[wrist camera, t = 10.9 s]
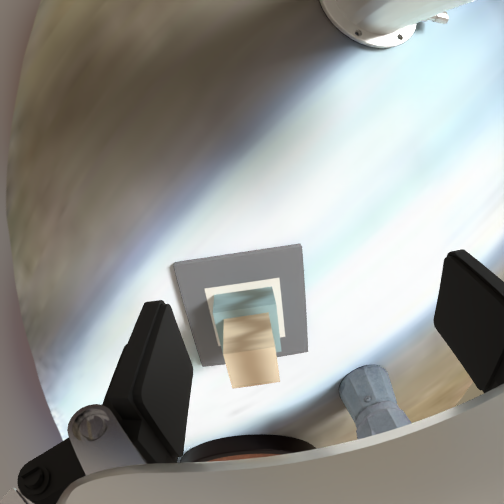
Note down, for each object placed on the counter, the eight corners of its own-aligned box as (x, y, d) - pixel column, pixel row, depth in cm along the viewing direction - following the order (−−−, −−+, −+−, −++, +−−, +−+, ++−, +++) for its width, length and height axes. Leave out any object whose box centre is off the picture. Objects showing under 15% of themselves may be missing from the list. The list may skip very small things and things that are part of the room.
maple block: (268, 312, 34) (275, 346, 29) (273, 346, 36) (279, 381, 31) (223, 319, 34) (223, 354, 29) (231, 352, 36) (232, 388, 31)
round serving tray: (176, 499, 57) (182, 442, 46) (177, 486, 61) (184, 425, 49) (297, 504, 61) (347, 448, 50) (294, 492, 65) (342, 432, 54)
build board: (300, 243, 37) (302, 246, 36) (306, 347, 43) (308, 351, 42) (174, 262, 37) (173, 266, 36) (203, 362, 43) (202, 366, 42)
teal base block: (271, 286, 38) (276, 303, 34) (277, 332, 40) (281, 351, 37) (214, 294, 38) (212, 313, 34) (224, 339, 40) (224, 359, 37)
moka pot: (358, 347, 44) (409, 453, 26) (407, 377, 48) (454, 461, 30) (315, 385, 47) (346, 491, 28) (369, 409, 51) (404, 494, 32)
